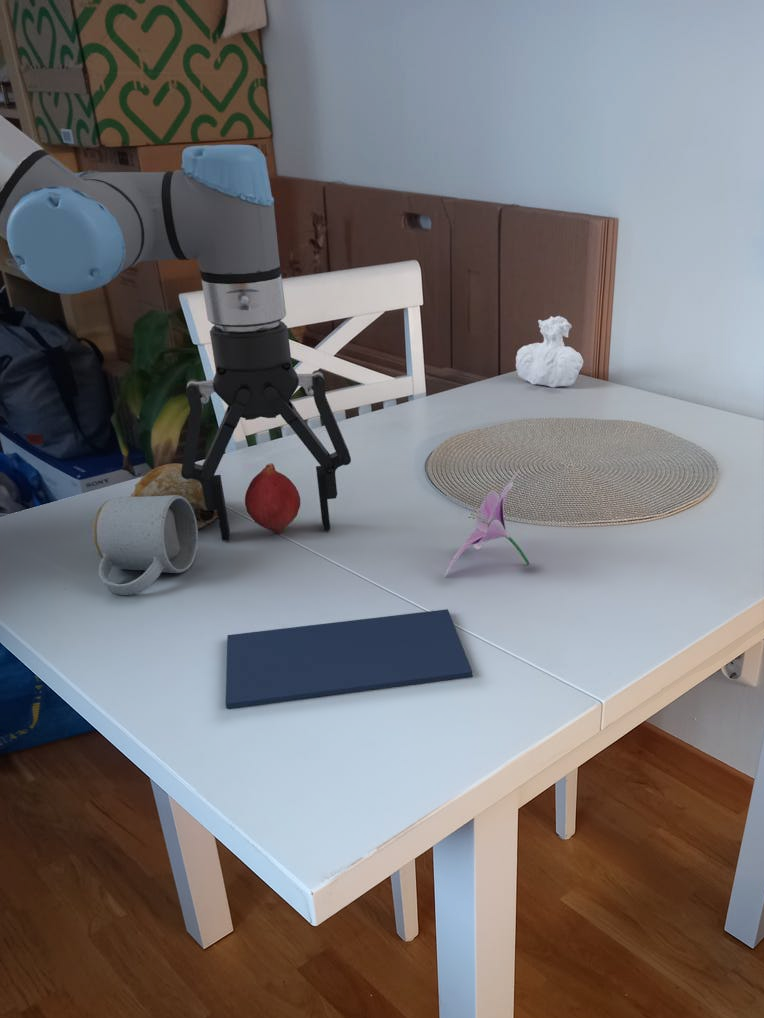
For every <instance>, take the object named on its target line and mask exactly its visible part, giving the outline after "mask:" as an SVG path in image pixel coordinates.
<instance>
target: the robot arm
mask: <svg viewBox="0 0 764 1018" xmlns="http://www.w3.org/2000/svg"><path fill="white" fill-rule="evenodd" d="M181 160H182V163H181V165H180V168H181V169H177V170H168V171H163V172H162V171H150V172H149V171H102V172H101V171H98V170H88V171H82V172H77V173H75V172H74V171H72V170H71V169H70V168H68V167H67V166H66V165H64V163H62V162H60V161H59V159H57V158H55V157H54V156H52V155H51V154H49V152H47V151H46V150H45V149H44V148H43V147H42V146H41V145H39V143H37V142H35V141H34V140H33V139H31V137H29V136H28V135H27V134H25V133H24V132H23V131H22V130H20V129H19V128H18V127H17V126H15V125H14V124H13V123H12V122H10V121H9V120H7V118H5V117H4V116H3V115H1V114H0V237H2V238H3V239H4V240H5V241H7V245H8V248H9V253H11V255H12V257H13V259H14V261H15V263H16V264H17V266H18V267H19V268H20V270H21V271H22V273H23V274H24V275H25V276H26V277H27V278H28V279H29V280H31V281H32V282H33V283H35V284H36V285H37V286H40V287H41V288H43V289H45V290H47V291H49V292H53V293H55V294H56V293H57V294H63V295H75V294H76V295H77V294H81V293H84V292H87V291H93V290H96V289H100V288H101V287H104V286H106V285H107V284H109V283H110V282H111V281H112V280H113V279H115V278H116V277H117V276H118V275H119V274H121V273H124V272H126V271H127V270H129V269H130V268H132V267H134V266H135V265H137V264H139V263H141V262H156V261H157V262H159V261H176V260H177V261H179V260H180V261H189V260H196V261H197V263H198V266H199V269H200V270H199V271H200V279H201V286H202V292H203V298H204V305H205V310H206V318H207V320H208V322H210V323H211V324H212V325H213V326H212V327H211V329H210V330H209V336H210V342H211V349H212V356H213V362H214V367H215V374H214V377H213V379H210V380H201V381H198V380H197V379H195V378H191V379H189V380H188V381H187V384H186V388H185V389H186V390H185V393H186V397H187V401H188V406H189V414H188V422H187V428H186V434H185V435H186V436H185V443H184V450H183V457H182V463H181V464H182V471H181V475H182V477H183V478H184V479H195V480H198V481H199V482H200V483H201V485H202V489H203V495H204V500H205V506H206V508H207V509H208V511H210V510H217V513H218V518H217V519H218V524H219V530H220V536H221V541H222V542H225V541H230V536H231V535H230V534H231V533H230V532H231V531H230V530H231V529H230V523H229V518H228V512H227V507H226V506H227V505H226V500H225V499H226V498H225V494H224V487H223V482H222V476H221V474H215V473H216V472H217V470H218V468H219V465H220V463H221V461H222V458H223V456H224V454H225V452H226V449H227V448H228V445H229V443H230V441H231V439H232V436H233V434H234V432H235V430H236V428H237V426H238V424H239V422H240V420H241V418H242V419H244V420H245V421H253V420H256V419H259V418H265V419H277V417H278V416H281V418H282V419H283V421H285V423H286V424H287V425H288V426H289V428H291V430H292V431H293V432H294V434H295V435H296V436H297V437H298V438H299V440H300V441H301V442H302V444H303V445H304V446H305V447H306V449H307V450H308V451H309V452H310V454H311V455H312V457H313V458H314V459H315V460H316V462H317V463H318V464H319V465H316V466H315V471H316V472H315V473H316V479H317V488H318V495H319V496H318V497H319V506H320V508H319V509H320V514H321V523H322V529H323V532H327V531H331V521H330V520H331V519H330V512H329V502H328V501H329V500H334V499H337V496H338V488H337V486H338V485H337V478H336V473H337V470H338V468H340V467H343V466H348V465H350V464H351V462H352V457H351V454H350V451H349V449H348V446H347V443H346V441H345V439H344V437H343V434H342V432H341V429H340V427H339V425H338V421H337V420H336V418H335V414H334V413H333V410H332V408H331V405H330V403H329V401H328V398H327V396H326V381H325V377H324V373H323V372H322V371H321V370H318V369H317V370H314V371H312V373H298V372H296V370H295V368H294V367H293V362H292V353H291V346H290V338H289V337H290V336H289V328H288V325H286V324H285V322H283V321H282V320H283V319H284V318H285V317H286V316H287V310H286V303H285V302H286V301H285V293H284V285H283V278H282V271H281V264H280V263H281V262H280V253H279V252H280V251H279V244H278V235H277V234H278V232H277V224H276V215H275V198H274V197H273V194H272V189H271V182H270V177H269V171H268V166H267V159H266V157H265V154H264V153H263V151H261V149H260V148H258V147H256V146H255V145H251V144H216V145H214V144H213V145H207V144H206V145H193V146H192V145H191V146H187V147H186V148H184V149H183V151H182V154H181ZM298 387H301V388H303V389H304V391H305V394H306V395H307V396H309V397H313V400H314V404H315V406H316V409H317V412H318V414H319V416H320V418H321V421H322V423H323V425H324V428H325V430H326V432H327V434H328V437H329V439H330V442H331V444H332V446H333V449H334V452H332V453H330V452H329V451H328V450H327V449H326V446H324V444H323V443H322V442H321V440H320V439H319V437H317V435H316V434H315V433H314V431H313V430H312V429H311V427H310V426H309V425H308V424H307V422H306V420H305V419H304V418H303V417H302V415H301V414H300V413H299V411H298V410H297V408H296V407H295V406H294V404H293V403H292V401H291V399H292V398H293V395H294V394H295V392H296V391H297V389H298ZM213 393H216V395H217V396H218V397H219V398H220V399H221V400H222V401H223V402H224V403H225V404H226V405H227V408H226V410H225V412H224V416H223V418H222V420H221V422H220V425H219V427H218V429H217V432H216V433H215V436H214V438H213V440H212V443H211V445H210V448H209V450H208V452H207V454H206V456H205V459H204V461H203V463H202V464H199V463H196V458H197V453H198V445H199V439H200V432H201V425H202V419H203V410H204V405H207V404H208V403H209V401H210V397H211V395H212V394H213ZM224 498H225V499H224Z"/></svg>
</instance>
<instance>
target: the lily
mask: <svg viewBox="0 0 764 1018" xmlns="http://www.w3.org/2000/svg"><path fill="white" fill-rule="evenodd" d="M520 471H521V469H519V470H518V471H517V472H516V473H515V474H514V475H513V476H512V478H511V479H510V480H509V482H508V483H507V484H506V485H505V486H504V488H503V490H502V491H501V493H500V495H499V494H498V493H497V491H495V489H491V490H490V491H489V493H488V494H487V495H486V497H485V498H484V500H483V501H482V503H481V505H480V507H479V509H478V510H475V511H474V513H476V514H474V513H472V512H471V513H470V515H471V516H467V518H468V519H473V520H475V526H476V527H474V529H473V530H472V532H470V534H469V535H468V537H467V539H466V540H465V541H464V543H463V545H462V546H461V547H460V548H458V550H457V552H456V553H455V554H454V556H453V558H452V560H451V561H450V563H449V565H448V567H447V569H446V571H445V574H444V577H446V576H447V575H448V573H449V572H450V570H451V568H452V567H453V565H454V564H455V563H456V561H457V560H458V558H459V557H460V556H461V555H462V553H464V551H465V550H466V549H468V547H470V546H472V545H473V548H474V549H475V550H479V549H481V546H482V545H483V543H486V542H489V541H494V540H497V539H499V538H506V539H507V540H508V541H509V542H510V543H511V544H512V545H513V546H514V548H515V549H516V550H517V551H518V553H519V554H520V555H521V557H522V558H523V561H524V562H525V564H526V565H527V566H529V565H530V564H531V563H530V561H529V559H528V558H527V556H526V555H525V554H524V552H523V550H522V549H521V548H520V546H519V545H518V544H517V543H516V542H515V540H514V539H513V538H512V537H511V536H510V535H509V534H508V532H507V530H506V524H505V522H506V521H505V502H506V501H505V500H506V497H507V494H508V493H509V491H510V490H511V489H512V487H513V486H514V481H515V479H516V477H517V476H518V474H519V472H520Z"/></svg>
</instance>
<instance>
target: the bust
mask: <svg viewBox="0 0 764 1018" xmlns="http://www.w3.org/2000/svg"><path fill="white" fill-rule="evenodd" d="M537 323H538V328H539V329H540V330H539V332H540V333H541V335H542V337H543V341H542V342H534V343H529V344H526V345H523V346H522V347H520V348H519V349H518V350H517V352H516V356H515V370H516V373H517V375H518V377H519V378H520V379H521V380H524V381H526V382H528V383H530V384H531V385H541V386H548V387H550V388H557V387H571V386H573V385H574V384H575V382H576V380H577V377H578V375H579V373H580V371H581V369H582V368H583V366H584V359H583V357H582V354H581V353H580V352H578V351H576V350H575V348H573V347H571V346H566V345H565V342H564V339H563V337H565V338H569V332H570V329H572V327H573V326H572V324H571V323H570V322H569V321H568V320H567V318H565V317H563V316H561V315H556V316H555V317H554V316H552V315H551V316H549V318H548V319H544V320H542V319H538V321H537Z"/></svg>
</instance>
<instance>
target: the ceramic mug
mask: <svg viewBox="0 0 764 1018" xmlns="http://www.w3.org/2000/svg"><path fill="white" fill-rule="evenodd" d="M92 525H93V526H92V537H93V538H92V539H93V543H94V546H95V550H96V552H97V554H98V556H99V557H100V558H101V560H100V563H99V566H98V576H99V578H100V581H101V583H102V584H103V585H104V586H105V588H106V589H107V590H108V591H109V592H111V593H113V594H115V595H118V596H133V595H136V594H138V593H141V592H144V591H145V590H148V588H150V586H152V585H153V584H154V583H155V582H156V580H157V579H158V578H159V577H160V575H161V574H162V573H167V574H168V573H169V574H181V573H184V572H186V571H188V570H189V568H191V566H192V565H193V563H194V560H195V559H196V556H197V551H198V545H199V529H197V521H196V517H195V514H194V511H193V509H192V507H191V505H190V503H189V502H188V501H187V500H186V499H185V498H184V497H182V496H179V495H168V496H147V497H130V496H123V497H117V498H113V499H109V500H107V501H105V502H104V503H102V504H101V506H100V507H99V509H98V510H97V512H96V514H95V517H94V520H93V524H92ZM112 567H114V568H117V569H122V570H129V571H131V570H132V571H144V572H143V574H141V575H140V576H139V577H137V578H136V579H133V580H132V581H129V582H127V583H121V584H120V583H118V584H117V583H116V582H114V581H110V579H109V576H110V572H111V570H112Z"/></svg>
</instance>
